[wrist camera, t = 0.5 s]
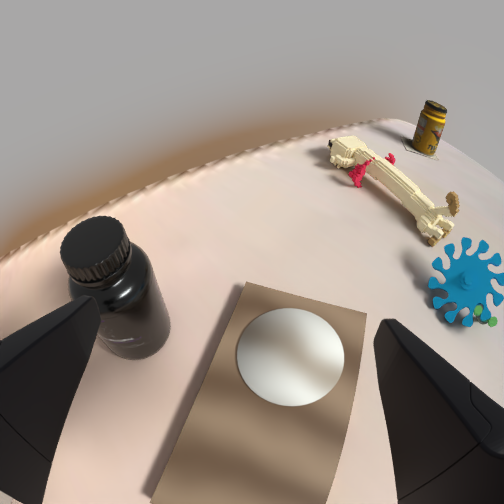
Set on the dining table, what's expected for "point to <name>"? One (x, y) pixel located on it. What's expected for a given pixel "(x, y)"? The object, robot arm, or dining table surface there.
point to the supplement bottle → (117, 286)
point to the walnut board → (269, 405)
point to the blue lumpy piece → (468, 283)
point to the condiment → (427, 130)
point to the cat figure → (394, 185)
